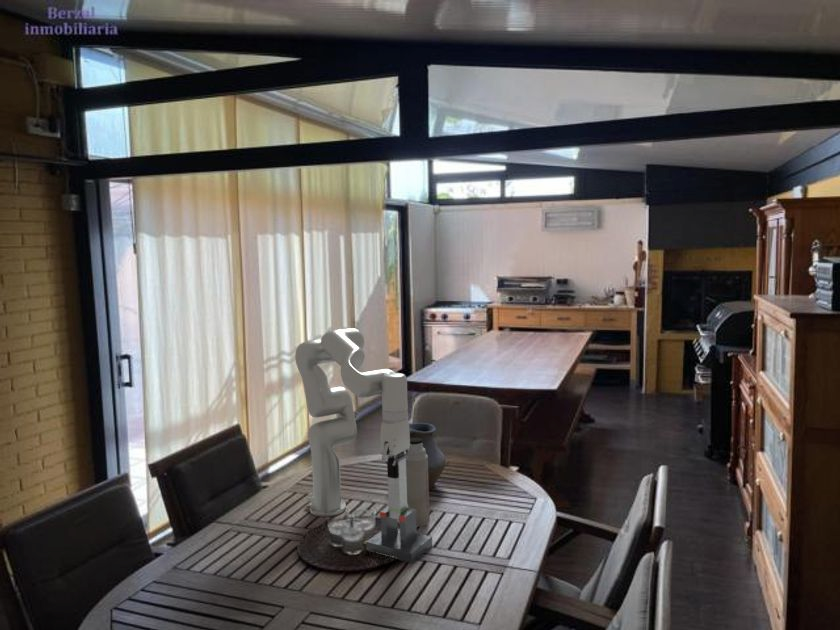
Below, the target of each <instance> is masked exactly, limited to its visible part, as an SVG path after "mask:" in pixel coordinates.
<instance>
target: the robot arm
mask: <svg viewBox="0 0 840 630" xmlns="http://www.w3.org/2000/svg"><path fill="white" fill-rule="evenodd" d="M364 345H365V338H364V335H363V333H362V332H361V331H360V330H359V329H358V328H357V329H356V328H355V327H349V328H341V329H333V330H329V331H327V332H325V333H324V334H323V335H322V336H321V338H317V339H310V340H306V341H303V342H302V343H299V345H298V346H297V347H296V349H295V352H294V353H295V354H294V357H295V358H294V359H295V365H296V367H297V369H298V372H299V375H300V377H301V380H302V384H303V391H304V395H305V402H306V405H307V406H306V407H307V411H308V414H309V415H310V416H311V418H324V417H329V416H333V415H336V417H335V418H330V419H326V420H320V421H318V422H314V423H313V424H311V426H309V428H308V429H307V440H308V444H309V449H310V454H311V468H312V469H311V470H312V471H311V472H312V489H313V490H312V492H309V493H308V496H307V497H306V499H305V500H306V501H307V502H311V505H310V507H309V512H310V513H311V515H314V516H317V517H332V516H336V515H340V514H342V513H343V512H345V511H346V510H347V504H346V503H345V502H344V501H343V500H342V486H341V485H342V482H341V464H340V463H341V461H340V458H339V455H338V453H336V451H335V450H334V449H333V448H336V447H338V446H341V445H346V444H349V443H352V442H353V441H354V440H355V439H356V438H357V435H358V428H357V427H358V426H357V422H356V416H355V415H356V414H355V411H354V410H355V409H354V404H353V400H352V396H351V394H350V392H351V393H352V394H353V395H355V396H357V397H358V398H363V399H366V398H370V397H376V396H381V406H382V407H381V409H382V410H381V413H382V415H381V416H382V422H381V424H380V434H379V435H380V436H379V438H380V439H379V452H380V455H381V460H382V461H383V462H385V464H386V466H387V467H386V469H387V478H388V477H389V478H395V479H396V478H398V472H397V465H396V456H397V454H399V453H402V454H407V452H408V449H409V448H410V431H409V424H410V423H409V412H408V411H409V407H408V406H409V405H408V404H409V403H408V378H407V376H406V374H404V373H401V372H395V371H393V370H392V369H389V368H381V369H375V370H368V371H363V372H360V371H358V370H359V368H361V366H362V365H363V364H364V362H365V361H364V360H365V352H364V350H363V349H364ZM334 362H335V363H337V364H338V366H340V377H341V380H342V383H343V385H344V386H345V387H344V386H342V385H339V386H337V385H336V386H332V387H330V386H329V381H328V380H329V379H328V376H327V374H326V372H325V371H324V370H323V369H322V367H320V365H321V364H328V363H334ZM349 391H350V392H349ZM390 457H393V460H392V459H391V458H390ZM406 459H407V458H406Z"/></svg>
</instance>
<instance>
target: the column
mask: <svg viewBox="0 0 840 630" xmlns="http://www.w3.org/2000/svg"><path fill="white" fill-rule="evenodd" d="M407 457H408V454H402V453H399V454H397V456H396V465H397V472H398V478H396V479H395V478H389V477H388V476H387V487H388V488H387V490H388V492H387V493H388V494H387V495H388V506H389V507H388V506H387V507H388V511H389V518H393V519H397V521H399V516H400V515H401V514H403V513H404V512H406V511H407V509H408V504H407V480H406V458H407ZM390 458H391V459H392V460H393V457H390Z"/></svg>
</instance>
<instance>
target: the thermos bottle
mask: <svg viewBox="0 0 840 630" xmlns="http://www.w3.org/2000/svg"><path fill="white" fill-rule="evenodd" d="M407 454H408V457H407V459H406V480H407V504H408V509H410V508H411V509H416V528H417V527H424V526H427V525H428V524H429V523H430V522H431V521H430V491H429V490H430V489H429V483H428V456H427V454H426V451H425V448H424V447H423V444H422V439H421V438H410V448H409V449H408V452H407ZM408 509H407V510H408Z"/></svg>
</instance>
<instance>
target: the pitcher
mask: <svg viewBox="0 0 840 630" xmlns="http://www.w3.org/2000/svg"><path fill="white" fill-rule="evenodd" d="M436 429H437V428H436V427H435V426H434V425H433V424H431V423H427V422H426V423H424V422H414V423H413V422H412V423H409V431H410V438H421V439H422V444H423V447H424V448H425V451H426V454H427V456H428V483H429V490H431V489H433V487H434V486H435V484H436V483H437V481H438V480H439V478H440V477H441V475H442V473H443V471H444V469H445V467H446V463H447V459H446V456H445V454H444V453H443V452H442V451H441V449H439V447H438V446H437V442H436V440H435V438H434V436H433V434H434V433H435V432H436Z"/></svg>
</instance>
